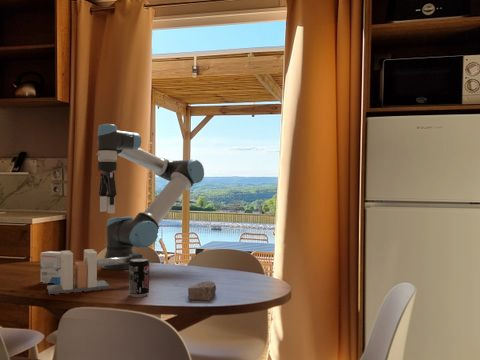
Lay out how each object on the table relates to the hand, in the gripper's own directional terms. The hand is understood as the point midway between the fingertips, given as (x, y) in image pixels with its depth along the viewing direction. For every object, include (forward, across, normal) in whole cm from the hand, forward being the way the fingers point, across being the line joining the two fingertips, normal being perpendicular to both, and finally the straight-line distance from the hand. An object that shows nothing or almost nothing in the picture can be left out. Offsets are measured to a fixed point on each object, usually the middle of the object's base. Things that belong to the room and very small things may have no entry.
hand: (107, 212), depth 176 cm
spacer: (+25, +18, -14) cm, 34 cm away
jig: (+26, +18, -14) cm, 35 cm away
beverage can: (+27, +38, +2) cm, 46 cm away
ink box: (+26, +2, -21) cm, 34 cm away
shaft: (+19, +19, -1) cm, 27 cm away
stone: (+27, +50, +20) cm, 60 cm away
